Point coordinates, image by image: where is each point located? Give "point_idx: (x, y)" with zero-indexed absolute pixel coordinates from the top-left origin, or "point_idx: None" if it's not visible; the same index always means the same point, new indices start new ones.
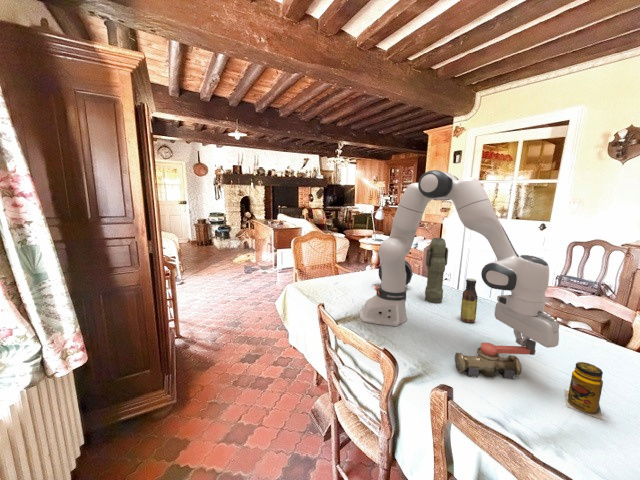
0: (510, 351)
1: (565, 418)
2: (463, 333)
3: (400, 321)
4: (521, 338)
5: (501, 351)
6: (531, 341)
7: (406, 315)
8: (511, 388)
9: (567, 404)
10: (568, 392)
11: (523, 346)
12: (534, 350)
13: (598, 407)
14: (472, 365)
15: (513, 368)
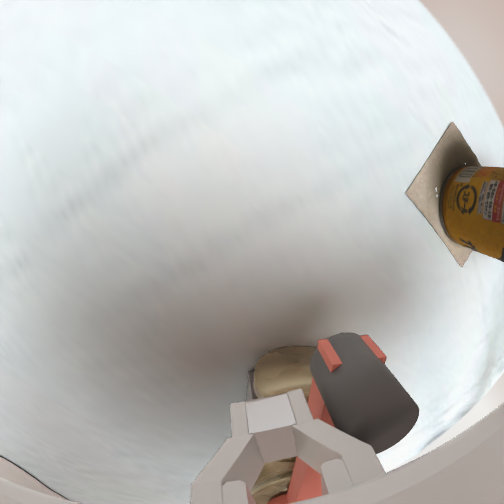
0: None
1: (480, 303)
2: (3, 366)
3: (46, 493)
4: (257, 439)
5: None
6: (384, 429)
7: (6, 467)
8: None
9: (457, 253)
10: (419, 192)
11: (323, 417)
12: (383, 363)
13: (473, 157)
14: None
15: None
